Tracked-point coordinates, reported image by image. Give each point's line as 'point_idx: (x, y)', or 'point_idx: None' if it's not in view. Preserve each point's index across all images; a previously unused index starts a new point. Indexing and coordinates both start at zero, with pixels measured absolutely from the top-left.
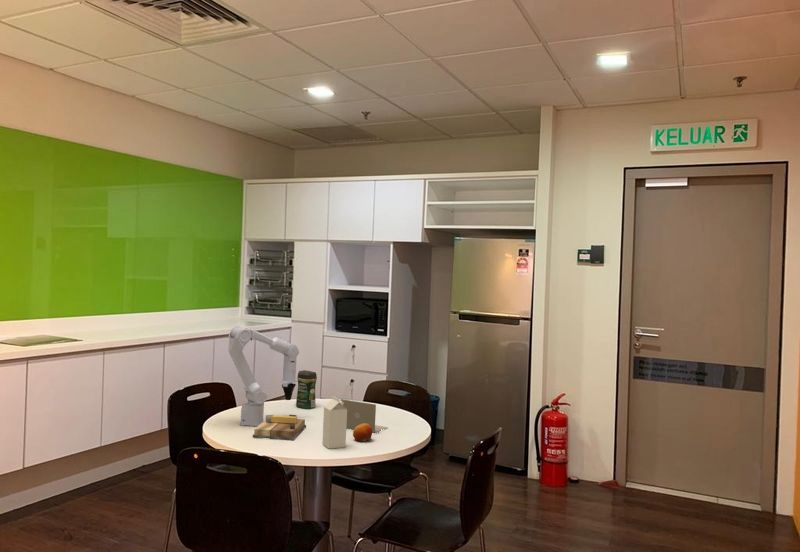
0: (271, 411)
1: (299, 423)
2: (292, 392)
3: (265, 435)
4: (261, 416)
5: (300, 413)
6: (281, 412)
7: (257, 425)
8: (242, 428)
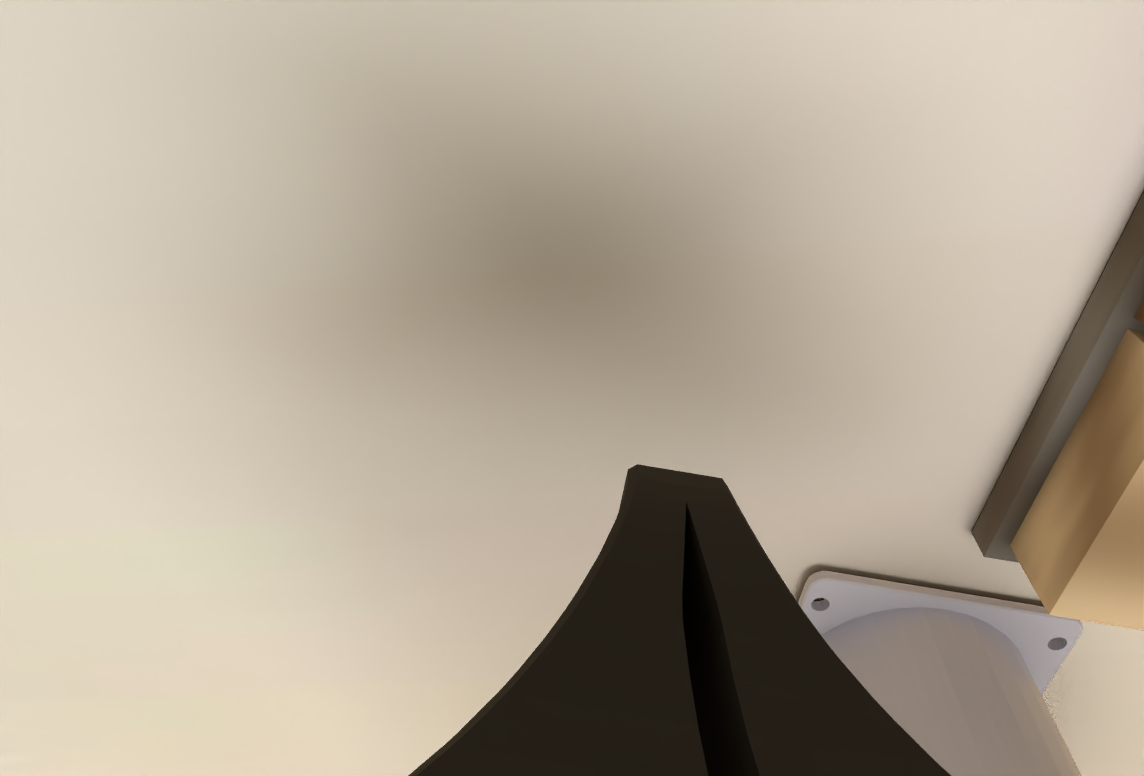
0: (95, 538)
1: None
2: (603, 598)
3: None
4: (1036, 720)
5: (19, 62)
6: (95, 406)
7: (1062, 655)
8: (1123, 771)
